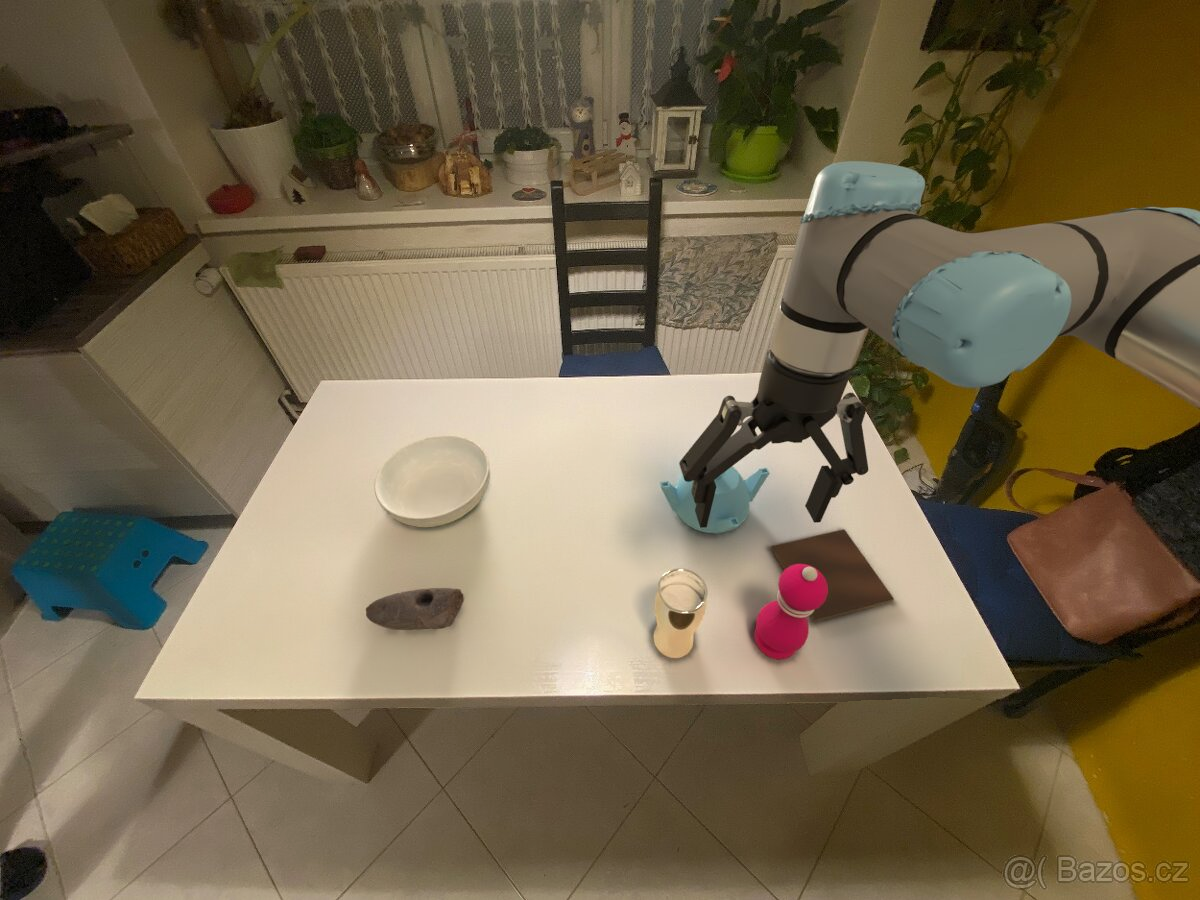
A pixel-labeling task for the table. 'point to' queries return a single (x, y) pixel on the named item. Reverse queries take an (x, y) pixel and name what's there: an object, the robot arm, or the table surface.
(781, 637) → the pepper mill
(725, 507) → the teapot
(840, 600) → the walnut board
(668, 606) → the beer glass
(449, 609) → the perforated stone tool
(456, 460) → the serving bowl
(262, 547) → the table surface
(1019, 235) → the robot arm
